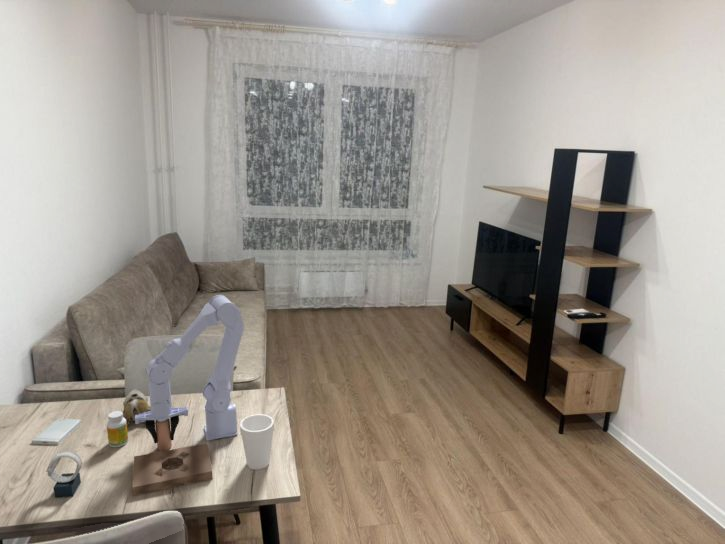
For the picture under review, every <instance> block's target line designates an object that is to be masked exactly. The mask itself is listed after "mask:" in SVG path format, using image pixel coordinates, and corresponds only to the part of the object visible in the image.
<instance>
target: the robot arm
mask: <svg viewBox="0 0 725 544" xmlns="http://www.w3.org/2000/svg"><path fill="white" fill-rule="evenodd" d="M241 311H242V310H240V308H238V306H237V305H236V304H235V303H233V302H232V300H231V301H230V300H229V298H228V297H227V296H226V295H224V294H217V295H214V296H212V297H211V298H210V300H209V302H207V303H206V304H204V306H203V308H202V309H201V311H200V313H199V314H198V315H197V316H196V317H195V319H194V320H193V321H192V322H191V324H190V325H189V326H188V327H187V329H186V330H185V331H184V332H183V333H182V335H181V336H180V337H178V338H174V339H172V340H171V341H167V342H166V344H165V346H166V347H165V348H164V349H163V350H162V351H161V352H160V353H159V354H158V355H155V357H154V359H151V360H150V361H149V362H148V363H147V365H146V368H145V372H146V374H147V376H148V384H149V385H148V391H149V393H148V394H149V404H150V407H151V411H148V412H145V413H142V414H138V415H135V421H134V422H135V423H134V424H135V425H139V424H140V423H145V425H144V426H145V428H146V430H147V431H148V432H149V433H150V435H151V437H152V439H153V442H154V444H157V437H156V425H155V421H156V420H158V421H159V422H161V421H165V420H166V419H167V418H169V419H170V430H171V441H174V437H175V433H176V429H177V427H178V425H179V423H180V417H182V416H184V417H187V416H189V409H188V406H184V407H183V406H182V407H179V406H178V407H176V406H175V407H173V406H172V394H171V383H170V379H171V377H172V372H173V370H174V369H175V368H176V367H177V365H178V364H179V363H180V362H181V361H182V360H183V358H184V357H186V356H187V354H188V353H189V351H190V350H189V348H190V347H189V346H190V345H191V344H192V343H193V342H194V341H195V340H196V339H197V338H198V337H199V336H200V335H201V334H202V333H203V332H204V331H205V330H206V329H207V328H208V327H210V326H211V327H212V326H219V325H220V322H221V323H222V324H223V326H224V327H225V330H224V332H223V333H224V334H223V337H222V340H221V345H220V349H219V352H218V354H217V355H218V356H217V360H216V363H215V367H214V371H213V374H212V375H211V376H210V377H209V378H208V380H207V383H206V384H205V385H204V387H203V388H202V396H203V398H204V399H205V400H206V402H205V406H204V411H205V415H204V416H205V426H204V435H205V440H206V441H211V440H216V439H222V438H228V437H233V436H238V418H237V417H238V416H237V415H238V414H237V407H236V403H235V402H234V403H231V401H232V399H231V392H232V389H231V388H232V387H231V381H230V380H231V377H232V373H233V370H234V365H235V363H236V358H237V354H238V351H239V347H240V343H241V341H242V336H243V334H244V330H245V324H244V320H243V318H242V314H241V313H242V312H241ZM219 321H220V322H219ZM220 326H221V325H220Z"/></svg>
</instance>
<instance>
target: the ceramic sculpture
mask: <svg viewBox="0 0 725 544" xmlns="http://www.w3.org/2000/svg"><path fill="white" fill-rule="evenodd" d="M122 405H123V411H122V412H123V417H124V418H125V419H126V423H127V425H129V424H130V422H131V421H132V422H135V415H138V414H142V413H145V412H148V411H151V406H149V404H148V397H146V396H145V394H144V393H143V392H141V391H140V390H138V389H136V388H133V389H132V390H131V391H130V392H129V393H128V394H127V396H126V397H125V399H124V401H123V403H122Z"/></svg>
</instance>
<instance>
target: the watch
mask: <svg viewBox="0 0 725 544" xmlns="http://www.w3.org/2000/svg"><path fill="white" fill-rule="evenodd" d="M62 458H68V459H70V460H73V461H74V462H75V463H76V469H75V471H74V472H70V473H69V472H68V473H61V475H60V474H59V473H57V472H56V471H55V469H56V467H57V466H58V464H59V462H60V461H61V459H62ZM82 467H83V461H82V458H81V456H80V455H79V454H78V453H76V452H74V451H71V450H61V451H60V452H56V453H55V455H54V456H53V457H52V459H51V461H50V462H49V464H48V466H47V468H46V471H45V472H47V476H48V477H49V478H50V479H51V480H52V481H54V482H56V483H55V484H54V486H53V494H54V495H53V496H54V499H59V498H71V497H74V495H75V494H76V492H77V490H78V488H79V487H80V485H81V483H82V482H81V474H80V471H81V469H82Z"/></svg>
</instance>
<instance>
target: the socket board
mask: <svg viewBox="0 0 725 544" xmlns="http://www.w3.org/2000/svg"><path fill="white" fill-rule="evenodd" d="M171 466H179V467H178V468H174V469H170V470H168V469H167V468H169V467H171ZM210 480H213V468H212V461H211V455H210V451H209V444H208V442H205V443H199V444H195V445H189V446H184V447H179V448H178V447H177V448H174V449H169V450H166V451H157V452H151V453H146V454H140V455H135V456H133V470H132V482H131V483H132V484H131V485H132V487H131V489H132V496H133V497H134V496H138V495H144V494H148V493H152V492H157V491H162V490H165V489H166V490H167V489H172V488H177V487H181V486H186V485H187V486H188V485H191V484H196V483H200V482H204V481H206V482H207V481H210Z"/></svg>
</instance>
